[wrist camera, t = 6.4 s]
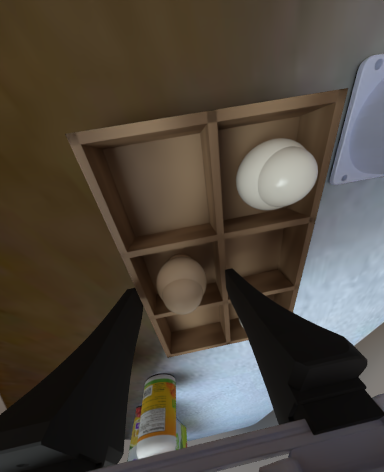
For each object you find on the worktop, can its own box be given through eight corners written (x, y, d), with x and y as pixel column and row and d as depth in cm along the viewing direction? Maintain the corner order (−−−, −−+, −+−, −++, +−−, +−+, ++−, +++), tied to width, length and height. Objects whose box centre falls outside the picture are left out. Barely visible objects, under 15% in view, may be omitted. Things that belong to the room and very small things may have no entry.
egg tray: (299, 110, 11) (347, 88, 8) (271, 307, 20) (288, 331, 17) (97, 143, 10) (65, 134, 7) (168, 329, 20) (167, 357, 17)
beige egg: (198, 242, 13) (211, 281, 9) (203, 276, 15) (216, 321, 11) (153, 251, 13) (144, 294, 9) (164, 284, 15) (161, 333, 11)
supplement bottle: (176, 385, 27) (177, 487, 19) (147, 389, 27) (134, 496, 18) (175, 371, 25) (176, 480, 16) (143, 375, 24) (126, 491, 16)
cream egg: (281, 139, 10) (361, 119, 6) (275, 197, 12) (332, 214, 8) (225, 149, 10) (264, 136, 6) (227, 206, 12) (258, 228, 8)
